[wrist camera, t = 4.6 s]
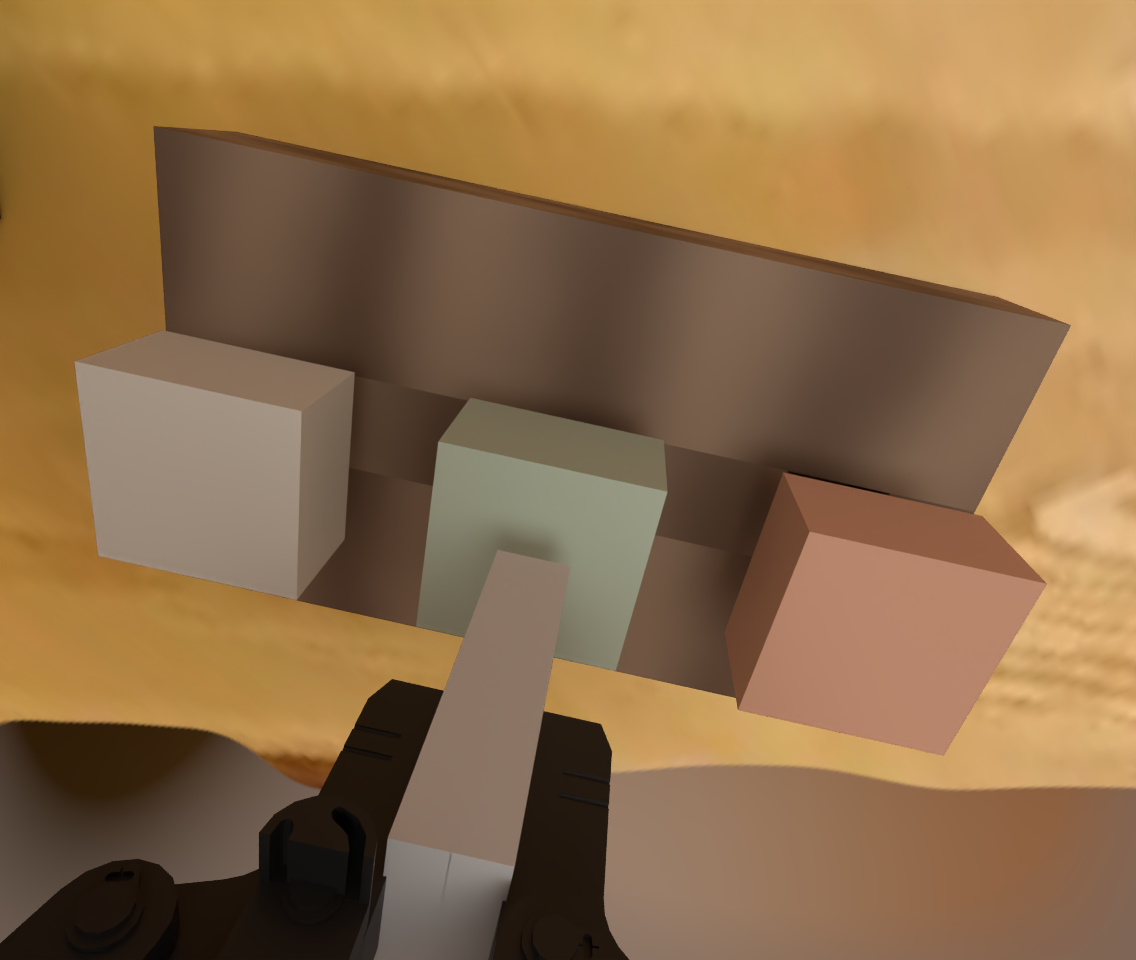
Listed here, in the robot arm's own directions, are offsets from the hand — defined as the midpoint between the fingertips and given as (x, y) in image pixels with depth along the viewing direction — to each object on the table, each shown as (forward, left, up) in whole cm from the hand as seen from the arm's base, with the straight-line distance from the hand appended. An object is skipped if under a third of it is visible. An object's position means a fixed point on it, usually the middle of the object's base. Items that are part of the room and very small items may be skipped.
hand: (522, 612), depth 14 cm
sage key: (0, 0, -8) cm, 8 cm away
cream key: (-8, 0, -8) cm, 11 cm away
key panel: (0, 0, -11) cm, 11 cm away
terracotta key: (+8, 0, -7) cm, 11 cm away
